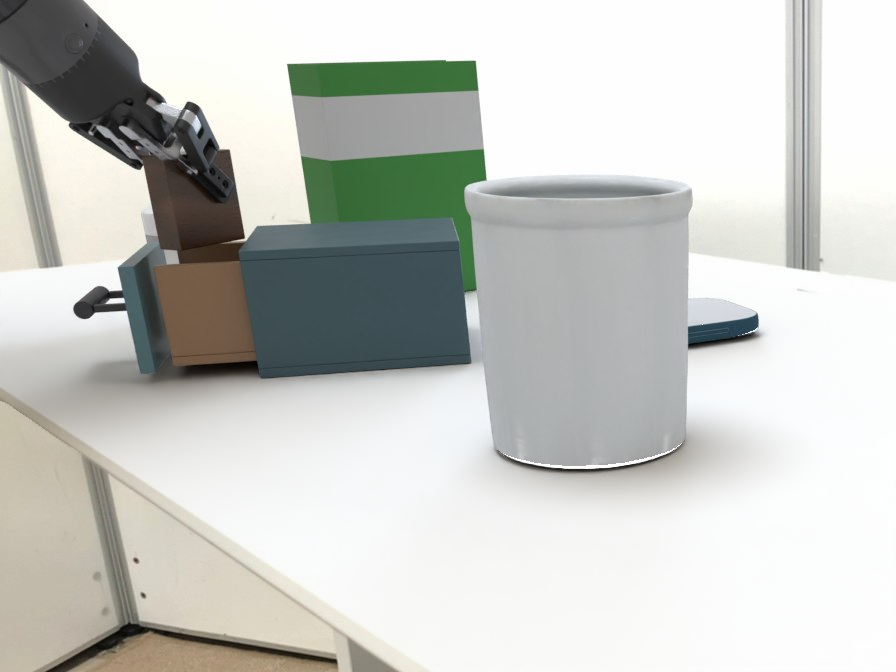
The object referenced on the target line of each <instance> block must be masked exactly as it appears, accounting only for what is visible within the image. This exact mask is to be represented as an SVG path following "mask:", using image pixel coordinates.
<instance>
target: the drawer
mask: <svg viewBox="0 0 896 672" xmlns="http://www.w3.org/2000/svg"><path fill="white" fill-rule="evenodd" d="M245 242H246V240H236V241H231V242H225V243H220V244H215V245H210V246H204V247H199V248H194V249H189V250H183V251H177V254H178V259H179V264H168V265H167V263H166V258H165V253H164V249H160V245H159V241H157V242H148V243H147V242H146V243H145V244H144V245H142V246H141V247H140V248H139V249H138V250H137V251H136V252H134V253H133V254H132V255H131V256H129V257H128V258H127V259H126V260H125V261H124V262H122V263H121V264H120V265H118V266H117V272H118V277H119V282H120V286H121V290H118V289H117V290H110V289H108V288H107V287H105V286H103V285H97V286H94V287H93V288H92V289H91V290H90V291H89V292H87V293H86V294H85V295H84V296H83V297H81V298H80V299H79V300H78V301H77V302H75V303H74V304H73V308H72V312H73V314H74V315H75V316H76V317H77V318H78V319H81V320H87V319H91V318H92V316H94V315H95V314H98V313H115V312H126V313H127V319H128V323H129V324H128V325H129V328H130V332H131V337H132V341H133V342H132V343H133V347H134V352H135V357H136V360H137V365H138V370H139V374H140V375H149V374H150V375H151V374H156V373H157V372H158V370H159V369H160V368H161V366H162V365H163V363H164V362H165V361H166V359H167V358H168V357H169V355H170V356H171V362H172V366H173V367H184V366H198V365H199V366H200V365H214V364H227V363H229V364H230V363H244V362H257V357H256V351H255V346H254V340H253V334H252V328H251V322H250V317H249V311H248V305H247V299H246V294H245V288H244V282H243V276H242V271H241V265H240V259H239V253H238V251H239V250H240V248H241V247H242V246H243V244H244V243H245ZM114 299H124V302H115V303H114V302H113V303H108V302H109V301H110V300H114Z"/></svg>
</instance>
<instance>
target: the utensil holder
mask: <svg viewBox="0 0 896 672" xmlns="http://www.w3.org/2000/svg"><path fill="white" fill-rule="evenodd" d="M464 197H465V206H466V209H467V211H468V213H469V215H470V216H471V225H472V238H473V251H474V263H475V276H476V288H477V289H476V297H477V299H476V300H477V307H478V308H477V309H478V318H479V319H478V320H479V330H480V331H479V333H480V338H481V339H480V341H481V353H482V362H483V372H484V381H485V390H486V396H487V407H488V413H489V424H490V431H491V438H492V443H493V446H494V448H495V447H496V448H495V450H496V451H497V450H499V451H500V452H502V453H504V454H506V455H508V456H511V457H514V458H517V459H521V460H526V461H530V462H534V463H541V464H550V465H562V466H586V465H608V464H616V463H625V462H629V461H634V460H639V459H644V458H647V457H652V456H655V455H658V454H661V453H665V452H667V451H670V450H672V449H673V448H676V447H677V446H678V445H680V444H681V443H682V442H683V441H684V439H685V440H686V436H687V410H688V409H687V407H688V372H689V371H688V370H689V344H688V299H689V260H690V259H689V256H690V255H689V254H690V253H689V251H690V245H689V244H690V240H689V238H690V235H689V234H690V232H689V231H690V230H689V229H690V228H689V215H690V212H691V210H692V208H693V202H694V201H693V188H692V187H691V185H689V184H687V183H685V182H682V181H679V180H673V179H665V178H661V177H660V178H658V177H651V176H641V175H628V174H627V175H626V174H625V175H624V174H557V175H556V174H547V175H530V176H515V177H505V178H497V179H496V178H495V179H487V181H481V182H477V183H473V184H469V185H468V186H466V187H465V190H464ZM684 442H685V441H684ZM684 442H683V443H684ZM500 452H499V453H500Z"/></svg>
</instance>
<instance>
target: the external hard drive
mask: <svg viewBox="0 0 896 672" xmlns="http://www.w3.org/2000/svg"><path fill="white" fill-rule="evenodd" d="M759 322H760V320H759V314H758V312H757V311H756V310H754V309H751V308H750V307H749V308H748V307H746V306H743V305H740V304H738V303H734V302H732V301H729V300H725V299H721V298H716V297H715V298H714V297H692V298H688V345H689V344H694V343H695V344H697V343H703V342H710V341H717V340H724V339H731V337H732V338H736V337H735V336H738V335H742V334H745V333H748V332H750V331H753V330H755V329H756V328H757V327H758V328H759V325H760V323H759ZM702 324H703V325H702ZM738 337H739V336H738Z"/></svg>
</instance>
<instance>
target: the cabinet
mask: <svg viewBox="0 0 896 672" xmlns="http://www.w3.org/2000/svg"><path fill="white" fill-rule="evenodd" d="M245 241H246V242H245V243H244V244H243V246H242V247H241V248H240V250H239V251H238V253H239V259H240V265H241V271H242V276H243V282H244V288H245V294H246V299H247V305H248V311H249V317H250V322H251V328H252V334H253V340H254V346H255V351H256V357H257V361H256V362H257V368H258V373H259V378H260V379H267V378H279V377H280V378H281V377H294V376H295V377H296V376H309V375H311V376H312V375H323V374H336V373H338V374H339V373H348V372H349V373H351V372H353V373H354V372H365V371H379V370H393V369H394V370H395V369H408V368H409V369H410V368H421V367H422V368H423V367H436V366H437V367H438V366H449V365H463V364H471V363H472V356H471V355H472V354H471V344H470V336H469V325H468V315H467V314H468V313H467V305H466V297H465V291H464V285H463V275H462V265H461V255H460V245H459V239H458V236H457V233H456V229H455V226H454V223H453V220H452V218H451V217H450V218H427V219H404V220H382V221H359V222H336V223H313V224H311V223H291V224H270V225H269V224H268V225H267V224H266V225H256V227H255V228H254V229H253V231H252V232H251V233H250V235H249V236H248V238H247V239H246V240H245Z"/></svg>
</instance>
